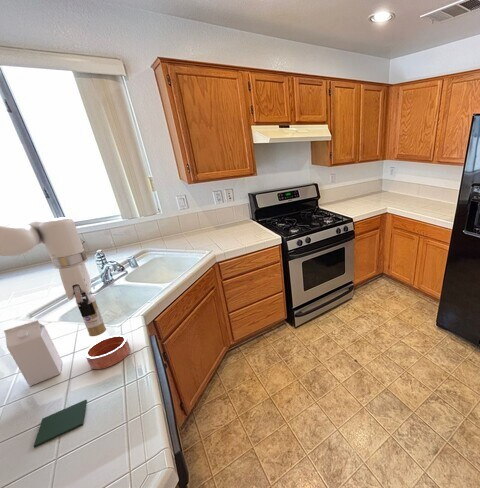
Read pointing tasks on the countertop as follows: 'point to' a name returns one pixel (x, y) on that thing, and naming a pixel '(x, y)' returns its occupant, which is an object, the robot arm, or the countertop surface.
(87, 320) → the sprinkles bottle
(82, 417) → the mat
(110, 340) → the bowl
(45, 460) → the countertop surface
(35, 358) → the milk carton
